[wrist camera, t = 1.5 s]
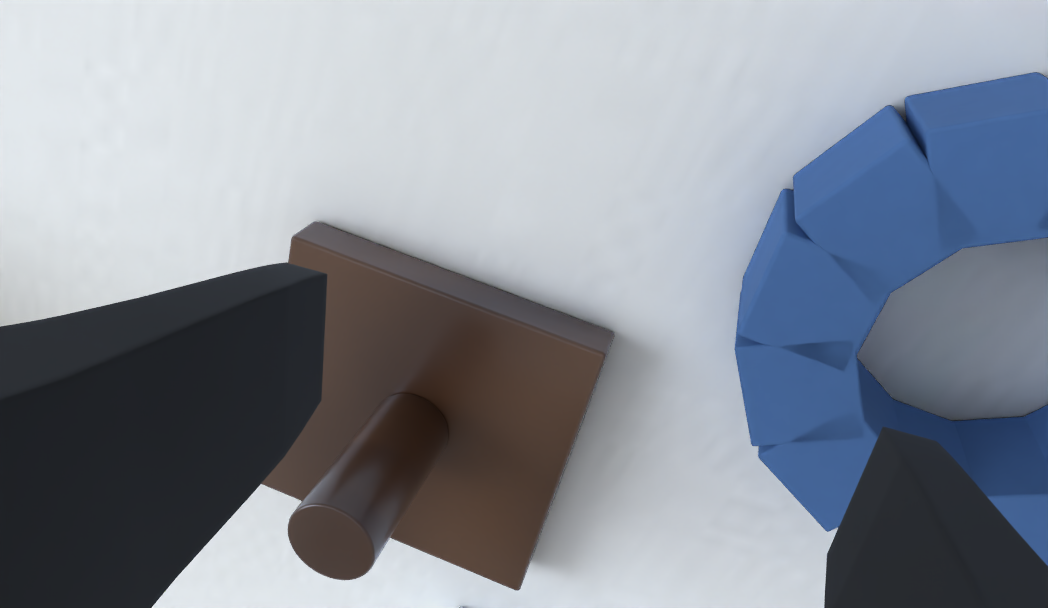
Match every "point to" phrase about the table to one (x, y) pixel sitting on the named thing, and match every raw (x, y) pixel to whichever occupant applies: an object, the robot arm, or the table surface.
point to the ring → (873, 274)
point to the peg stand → (432, 414)
